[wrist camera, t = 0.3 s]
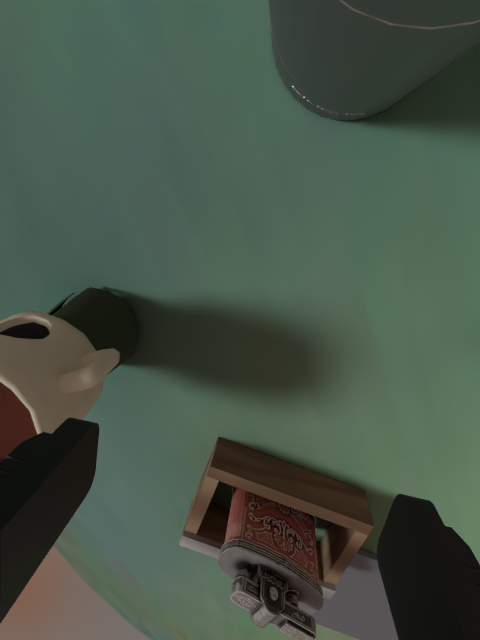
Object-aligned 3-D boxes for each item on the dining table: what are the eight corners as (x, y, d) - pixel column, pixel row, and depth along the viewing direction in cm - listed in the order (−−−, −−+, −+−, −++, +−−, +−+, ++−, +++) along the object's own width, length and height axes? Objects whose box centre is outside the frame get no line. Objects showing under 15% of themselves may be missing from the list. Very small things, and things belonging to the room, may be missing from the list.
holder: (218, 437, 31) (209, 471, 28) (364, 491, 31) (375, 532, 28) (190, 505, 34) (179, 544, 30) (325, 554, 34) (330, 599, 31)
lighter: (225, 486, 33) (201, 605, 24) (246, 461, 32) (230, 576, 22) (300, 532, 34) (306, 665, 24) (324, 509, 33) (339, 639, 23)
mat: (345, 543, 34) (346, 549, 33) (460, 585, 34) (463, 592, 33) (301, 611, 37) (301, 618, 37) (406, 649, 37) (408, 656, 37)
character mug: (148, 260, 27) (35, 323, 15) (183, 349, 29) (109, 467, 17) (22, 301, 29) (-167, 384, 17) (63, 381, 31) (-80, 506, 19)
